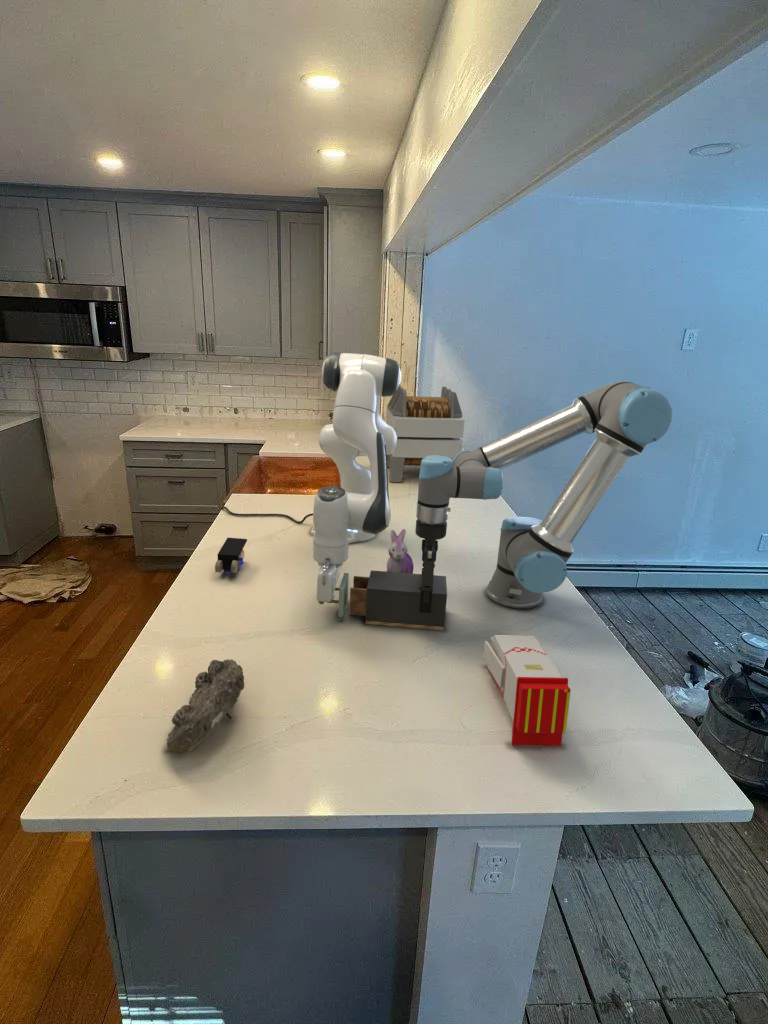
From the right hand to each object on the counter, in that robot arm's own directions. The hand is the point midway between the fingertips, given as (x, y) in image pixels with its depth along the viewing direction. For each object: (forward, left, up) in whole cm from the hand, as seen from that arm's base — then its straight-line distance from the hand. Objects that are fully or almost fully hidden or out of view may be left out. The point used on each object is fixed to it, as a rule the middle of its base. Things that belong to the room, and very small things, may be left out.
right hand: (425, 601), depth 144 cm
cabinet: (+4, -2, -5) cm, 7 cm away
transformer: (-62, -122, -5) cm, 137 cm away
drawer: (+13, -7, -4) cm, 15 cm away
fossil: (+55, +19, -5) cm, 59 cm away
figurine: (-4, -23, -5) cm, 24 cm away
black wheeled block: (+41, -44, -5) cm, 60 cm away
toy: (-3, +35, -5) cm, 36 cm away
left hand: (+21, -12, -2) cm, 24 cm away
